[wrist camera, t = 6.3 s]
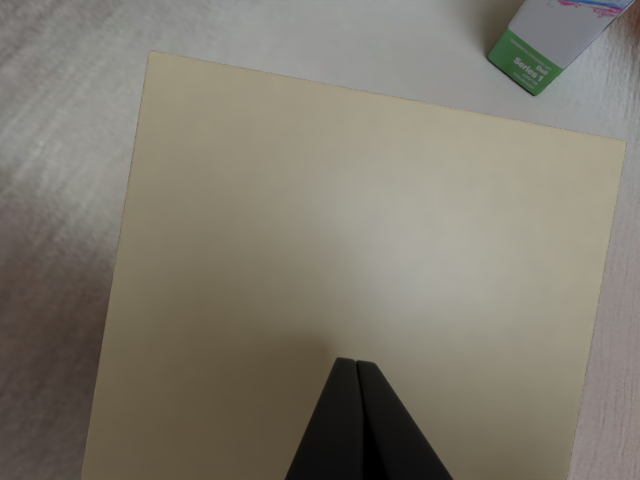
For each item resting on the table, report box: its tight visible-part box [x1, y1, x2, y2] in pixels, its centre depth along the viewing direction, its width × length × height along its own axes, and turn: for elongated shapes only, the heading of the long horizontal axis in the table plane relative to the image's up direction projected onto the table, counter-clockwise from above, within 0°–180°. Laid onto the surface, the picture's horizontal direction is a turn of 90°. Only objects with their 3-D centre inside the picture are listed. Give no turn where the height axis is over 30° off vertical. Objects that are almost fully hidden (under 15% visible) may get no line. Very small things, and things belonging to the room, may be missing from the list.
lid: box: [81, 51, 627, 480], centre depth 9 cm, size 11×13×1 cm
